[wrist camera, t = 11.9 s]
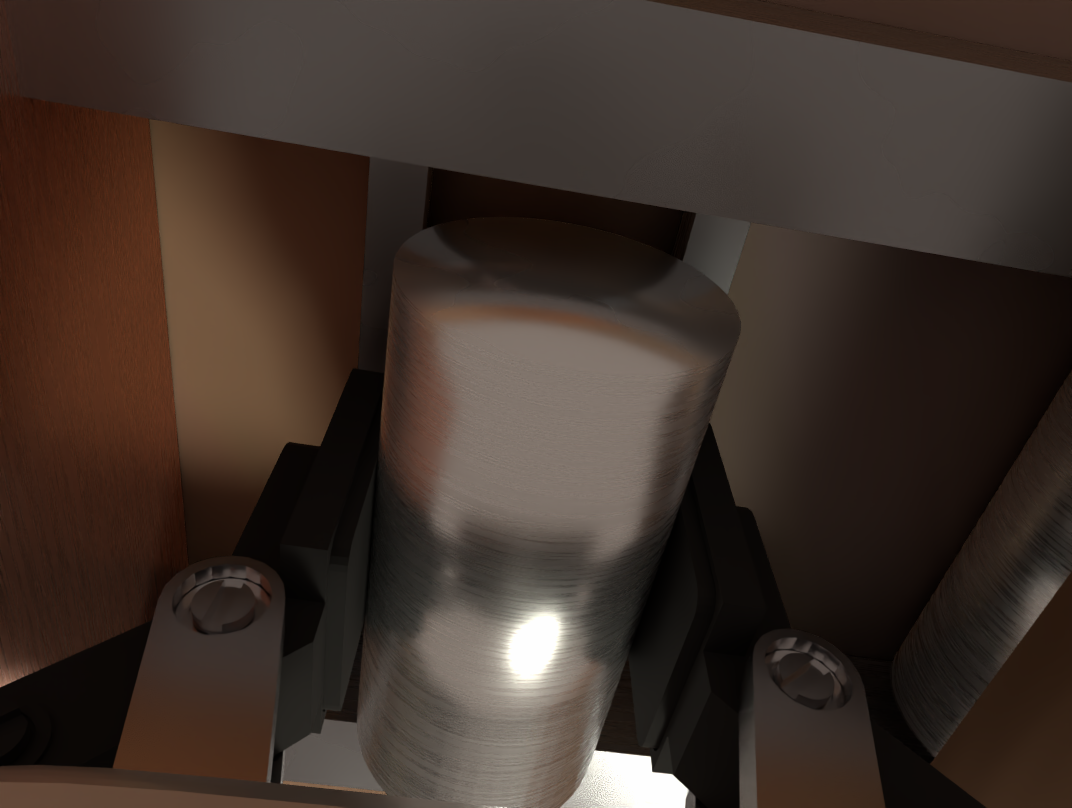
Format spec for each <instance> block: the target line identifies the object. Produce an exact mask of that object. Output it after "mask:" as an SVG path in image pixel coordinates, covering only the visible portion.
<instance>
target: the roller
mask: <svg viewBox="0 0 1072 808" xmlns="http://www.w3.org/2000/svg"><path fill="white" fill-rule="evenodd" d="M740 331H741V321H740V317H739V313H738V311H737V309H736V307H735V305H734V303H733V302H732V301H731V299H730V298H729V297H728V296H727V294H726V293H725V292H724V291H723V290H722V289H721V288H720V287H719V286H718V285H717V284H716V283H714V282H713V281H712V280H710V279H709V278H708V277H707V276H705V275H704V274H703V273H701V272H699V271H698V270H696V269H695V268H693V267H692V266H690V265H688V264H687V263H685V262H683V261H681V260H679V259H678V258H676V257H673V256H671V255H669V254H667V253H665V252H663V251H661V250H658V249H656V248H654V247H651V246H649V245H646V244H644V243H641V242H638V241H635V240H632V239H630V238H627V237H624V236H620V235H617V234H614V233H610V232H607V231H603V230H599V229H595V228H591V227H586V226H581V225H576V224H571V223H565V222H559V221H553V220H544V219H535V218H521V217H481V218H471V219H462V220H456V221H451V222H446V223H443V224H439V225H435V226H432V227H430V228H427V229H425V230H422V231H420V232H418V233H417V234H415V235H413V236H412V237H410V238H409V239H408V240H407V241H405V242H404V243H403V244H402V245H401V247H400V248H399V250H398V251H397V253H396V256H395V259H394V264H393V276H392V289H391V301H390V314H389V326H388V338H387V351H386V363H385V375H384V388H383V400H382V412H381V425H380V437H379V450H378V465H377V478H376V490H375V503H374V515H373V527H372V540H371V552H370V565H369V577H368V589H367V602H366V614H365V623H364V635H363V648H362V660H361V672H360V685H359V697H358V709H357V733H358V741H359V744H360V748H361V752H362V755H363V758H364V760H365V762H366V764H367V767H368V769H369V770H370V772H371V774H372V775H373V777H374V778H375V780H376V782H377V783H378V784H379V785H380V787H381V788H382V789H383V790H384V791H385V792H386V794H387V795H391V796H401V797H410V798H420V799H429V800H439V801H448V802H457V803H466V804H475V805H484V806H493V807H503V808H560V807H561V806H562V805H563V804H564V803H565V802H566V801H567V800H569V799H570V798H571V796H572V795H573V794H574V792H575V791H576V790H577V789H578V787H579V786H580V784H581V783H582V781H583V779H584V777H585V775H586V773H587V771H588V768H589V765H590V763H591V760H592V757H593V754H594V751H595V749H596V746H597V743H598V740H599V737H600V734H601V731H602V728H603V726H604V723H605V720H606V717H607V714H608V711H609V708H610V705H611V703H612V700H613V697H614V694H615V691H616V688H617V685H618V682H619V680H620V677H621V674H622V671H623V668H624V665H625V662H626V660H627V657H628V654H629V651H630V648H631V645H632V642H633V639H634V637H635V634H636V631H637V628H638V625H639V622H640V619H641V616H642V614H643V611H644V608H645V605H646V602H647V599H648V596H649V593H650V591H651V588H652V585H653V582H654V579H655V576H656V573H657V570H658V568H659V565H660V562H661V559H662V556H663V553H664V550H665V547H666V545H667V542H668V539H669V536H670V533H671V530H672V527H673V524H674V522H675V519H676V516H677V513H678V510H679V507H680V504H681V502H682V499H683V496H684V493H685V490H686V487H687V484H688V481H689V479H690V476H691V473H692V470H693V467H694V464H695V461H696V458H697V456H698V453H699V450H700V447H701V444H702V441H703V438H704V435H705V433H706V430H707V427H708V424H709V421H710V418H711V415H712V412H713V410H714V407H715V404H716V401H717V398H718V395H719V392H720V389H721V387H722V384H723V381H724V378H725V375H726V372H727V369H728V366H729V364H730V361H731V358H732V355H733V352H734V349H735V346H736V344H737V341H738V338H739V335H740Z"/></svg>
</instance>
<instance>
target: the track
mask: <svg viewBox="0 0 1072 808" xmlns="http://www.w3.org/2000/svg"><path fill="white" fill-rule="evenodd" d="M149 119H154V120H160V121H166V122H172V123H177V124H183V125H189V126H195V127H201V128H206V129H212V130H218V131H224V132H230V133H235V134H241V135H247V136H253V137H259V138H264V139H270V140H276V141H282V142H288V143H294V144H299V145H305V146H311V147H317V148H323V149H328V150H334V151H340V152H346V153H352V154H357V155H363V156H369V157H370V167H369V184H368V202H367V219H366V237H365V254H364V272H363V289H362V307H361V324H360V342H359V359H358V369H362V370H369V371H376V372H382V373H385V363H386V351H387V338H388V326H389V314H390V301H391V289H392V276H393V264H394V259H395V256H396V253H397V251H398V250H399V248H400V247H401V245H402V244H403V243H404V242H405V241H407V240H408V239H409V238H410V237H412V236H413V235H415V234H417V233H418V232H420V231H422V230H425V229H427V228H428V219H429V209H430V199H431V189H432V179H433V169H434V168H439V169H445V170H450V171H456V172H462V173H468V174H474V175H479V176H485V177H491V178H497V179H503V180H509V181H514V182H520V183H526V184H532V185H538V186H543V187H549V188H555V189H561V190H567V191H572V192H578V193H584V194H590V195H596V196H602V197H607V198H613V199H619V200H625V201H631V202H636V203H642V204H648V205H654V206H660V207H665V208H671V209H677V210H683V211H684V212H683V215H682V219H681V223H680V226H679V230H678V233H677V237H676V241H675V244H674V248H673V251H672V255H671V256H673V257H676V258H678V259H679V260H681V261H683V262H685V263H687V264H688V265H690V266H692V267H693V268H695V269H696V270H698V271H699V272H701V273H703V274H704V275H705V276H707V277H708V278H709V279H710V280H712V281H713V282H714V283H716V284H717V285H718V286H719V287H720V288H721V289H722V290H723V291H724V292H725V293H726V294H727V295H728V292H729V289H730V285H731V282H732V279H733V276H734V273H735V270H736V267H737V264H738V261H739V258H740V255H741V252H742V249H743V246H744V243H745V240H746V237H747V234H748V231H749V228H750V224H751V222H753V223H758V224H764V225H770V226H776V227H782V228H787V229H793V230H799V231H805V232H811V233H817V234H822V235H828V236H834V237H840V238H846V239H851V240H857V241H863V242H869V243H875V244H880V245H886V246H892V247H898V248H904V249H910V250H915V251H921V252H927V253H933V254H939V255H944V256H950V257H956V258H962V259H968V260H973V261H979V262H985V263H991V264H997V265H1002V266H1008V267H1014V268H1020V269H1026V270H1032V271H1037V272H1043V273H1049V274H1055V275H1061V276H1066V277H1072V61H1067V60H1062V59H1057V58H1052V57H1047V56H1042V55H1037V54H1031V53H1026V52H1021V51H1016V50H1011V49H1006V48H1001V47H996V46H991V45H985V44H980V43H975V42H970V41H965V40H960V39H955V38H950V37H944V36H939V35H934V34H929V33H924V32H919V31H914V30H909V29H903V28H898V27H893V26H888V25H883V24H878V23H873V22H868V21H863V20H857V19H852V18H847V17H842V16H837V15H832V14H827V13H822V12H816V11H811V10H806V9H801V8H796V7H791V6H786V5H781V4H775V3H770V2H765V1H760V0H0V687H2V686H4V685H6V684H9V683H11V682H13V681H15V680H18V679H20V678H22V677H24V676H27V675H29V674H31V673H33V672H36V671H38V670H40V669H42V668H45V667H47V666H49V665H51V664H54V663H56V662H58V661H60V660H63V659H65V658H67V657H70V656H72V655H74V654H76V653H79V652H81V651H83V650H85V649H88V648H90V647H92V646H94V645H97V644H99V643H101V642H103V641H106V640H108V639H110V638H112V637H115V636H117V635H119V634H121V633H124V632H126V631H128V630H130V629H133V628H135V627H137V626H139V625H142V624H144V623H146V622H148V621H151V620H153V617H154V613H155V610H156V606H157V602H158V599H159V597H160V595H161V593H162V591H163V589H164V587H165V585H166V584H167V583H168V582H169V581H170V580H171V579H172V578H173V577H174V576H175V575H176V574H177V573H178V572H180V571H182V570H183V569H185V568H187V567H188V566H189V562H188V551H187V540H186V528H185V517H184V506H183V495H182V484H181V473H180V461H179V450H178V439H177V428H176V417H175V406H174V395H173V383H172V372H171V361H170V350H169V339H168V328H167V316H166V305H165V294H164V283H163V272H162V261H161V249H160V238H159V227H158V216H157V205H156V194H155V182H154V171H153V160H152V149H151V138H150V127H149ZM1071 572H1072V370H1071V372H1070V373H1069V375H1068V376H1067V378H1066V380H1065V381H1064V383H1063V385H1062V386H1061V388H1060V389H1059V391H1058V393H1057V394H1056V396H1055V397H1054V399H1053V401H1052V402H1051V404H1050V406H1049V407H1048V409H1047V410H1046V412H1045V414H1044V415H1043V417H1042V419H1041V420H1040V422H1039V423H1038V425H1037V427H1036V428H1035V430H1034V431H1033V433H1032V435H1031V436H1030V438H1029V440H1028V441H1027V443H1026V444H1025V446H1024V448H1023V449H1022V451H1021V453H1020V454H1019V456H1018V457H1017V459H1016V461H1015V462H1014V464H1013V465H1012V467H1011V469H1010V470H1009V472H1008V474H1007V475H1006V477H1005V478H1004V480H1003V482H1002V483H1001V485H1000V487H999V488H998V490H997V491H996V493H995V495H994V496H993V498H992V499H991V501H990V503H989V504H988V506H987V508H986V509H985V511H984V512H983V514H982V516H981V517H980V519H979V520H978V522H977V524H976V525H975V527H974V529H973V530H972V532H971V533H970V535H969V537H968V538H967V540H966V542H965V543H964V545H963V546H962V548H961V550H960V551H959V553H958V554H957V556H956V558H955V559H954V561H953V563H952V564H951V566H950V567H949V569H948V571H947V572H946V574H945V576H944V577H943V579H942V580H941V582H940V584H939V585H938V587H937V588H936V590H935V592H934V593H933V595H932V597H931V598H930V600H929V601H928V603H927V605H926V606H925V608H924V610H923V611H922V613H921V614H920V616H919V618H918V619H917V621H916V622H915V624H914V626H913V627H912V629H911V631H910V632H909V634H908V635H907V637H906V639H905V640H904V642H903V644H902V645H901V647H900V648H899V650H898V652H897V653H896V655H895V656H894V659H893V662H892V661H884V660H876V659H868V658H860V657H853V656H846V657H847V658H848V659H849V660H850V661H851V662H852V664H853V665H854V667H855V668H856V670H857V671H858V673H859V674H860V677H861V680H862V683H863V685H864V688H865V694H866V700H867V705H868V711H869V717H870V719H872V720H873V721H874V722H875V723H877V724H878V725H879V726H881V727H882V728H883V729H885V730H886V731H887V732H888V733H890V734H891V735H892V736H894V737H895V738H896V739H898V740H899V741H900V742H902V743H903V744H904V745H905V746H907V747H908V748H909V749H911V750H912V751H913V752H915V753H916V754H917V755H919V756H920V757H921V758H922V759H924V760H925V761H926V762H928V763H929V764H931V762H932V761H933V760H934V758H935V757H936V756H937V754H938V753H939V751H940V750H941V749H942V747H943V746H944V745H945V743H946V742H947V741H948V739H949V738H950V736H951V735H952V734H953V732H954V731H955V730H956V728H957V727H958V726H959V724H960V723H961V721H962V720H963V719H964V717H965V716H966V715H967V713H968V712H969V711H970V709H971V708H972V706H973V705H974V704H975V702H976V701H977V700H978V698H979V697H980V696H981V694H982V693H983V691H984V690H985V689H986V687H987V686H988V685H989V683H990V682H991V681H992V679H993V678H994V676H995V675H996V674H997V672H998V671H999V670H1000V668H1001V667H1002V666H1003V664H1004V663H1005V661H1006V660H1007V659H1008V657H1009V656H1010V655H1011V653H1012V652H1013V651H1014V649H1015V648H1016V647H1017V645H1018V644H1019V642H1020V641H1021V640H1022V638H1023V637H1024V636H1025V634H1026V633H1027V632H1028V630H1029V629H1030V627H1031V626H1032V625H1033V623H1034V622H1035V621H1036V619H1037V618H1038V617H1039V615H1040V614H1041V612H1042V611H1043V610H1044V608H1045V607H1046V606H1047V604H1048V603H1049V602H1050V600H1051V599H1052V597H1053V596H1054V595H1055V593H1056V592H1057V591H1058V589H1059V588H1060V587H1061V585H1062V584H1063V582H1064V581H1065V580H1066V578H1067V577H1068V576H1069V574H1070V573H1071ZM364 623H365V620H364ZM363 635H364V624H363V627H362V631H361V635H360V639H359V643H358V647H357V651H356V655H355V659H354V663H353V667H352V671H351V675H350V679H349V683H348V687H347V691H346V694H345V698H344V702H343V706H342V709H341V711H333V710H327V712H326V715H325V719H324V723H323V726H322V730H321V734H316V733H311V734H310V735H308V736H306V737H305V738H303V739H302V740H300V741H298V742H297V743H295V744H293V745H292V746H290V747H288V748H287V749H285V762H284V774H283V780H285V781H294V782H303V783H313V784H322V785H331V786H340V787H349V788H358V789H368V790H377V791H384V790H383V789H382V788H381V787H380V785H379V784H378V783H377V782H376V780H375V778H374V777H373V775H372V774H371V772H370V770H369V769H368V767H367V764H366V762H365V760H364V758H363V755H362V752H361V748H360V744H359V741H358V733H357V709H358V697H359V685H360V672H361V660H362V648H363ZM687 791H688V789H687V788H686V787H685V786H684V785H683V784H682V783H681V782H680V781H679V780H678V779H676V778H675V777H674V776H673V775H672V774H663V773H655V772H652V765H651V757H650V748H647V747H640V746H639V744H638V741H637V734H636V724H635V714H634V705H633V695H632V685H631V675H630V666H629V656H628V657H627V660H626V662H625V665H624V668H623V671H622V674H621V677H620V680H619V682H618V685H617V688H616V691H615V694H614V697H613V700H612V703H611V705H610V708H609V711H608V714H607V717H606V720H605V723H604V726H603V728H602V731H601V734H600V737H599V740H598V743H597V746H596V749H595V751H594V754H593V757H592V760H591V763H590V765H589V768H588V771H587V773H586V775H585V777H584V779H583V781H582V783H581V784H580V786H579V787H578V789H577V790H576V791H575V792H574V794H573V795H572V796H571V798H570V799H569V800H567V801H566V802H565V803H564V804H563V805H562V806H561V807H560V808H685V799H686V795H687Z"/></svg>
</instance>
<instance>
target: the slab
mask: <svg viewBox="0 0 1072 808" xmlns="http://www.w3.org/2000/svg"><path fill="white" fill-rule="evenodd" d="M930 765H932V766H933V767H934V768H936V769H937V770H938V771H939V772H941V773H942V774H943V775H945V776H946V777H947V778H949V779H950V780H951V781H952V782H954V783H955V784H956V785H958V786H959V787H960V788H962V789H963V790H964V791H966V792H967V793H968V794H969V795H971V796H972V797H973V798H975V799H976V800H977V801H979V802H980V803H981V804H983V805H984V806H985V807H986V808H1072V572H1071V573H1070V574H1069V576H1068V577H1067V578H1066V580H1065V581H1064V582H1063V584H1062V585H1061V587H1060V588H1059V589H1058V591H1057V592H1056V593H1055V595H1054V596H1053V597H1052V599H1051V600H1050V602H1049V603H1048V604H1047V606H1046V607H1045V608H1044V610H1043V611H1042V612H1041V614H1040V615H1039V617H1038V618H1037V619H1036V621H1035V622H1034V623H1033V625H1032V626H1031V627H1030V629H1029V630H1028V632H1027V633H1026V634H1025V636H1024V637H1023V638H1022V640H1021V641H1020V642H1019V644H1018V645H1017V647H1016V648H1015V649H1014V651H1013V652H1012V653H1011V655H1010V656H1009V657H1008V659H1007V660H1006V661H1005V663H1004V664H1003V666H1002V667H1001V668H1000V670H999V671H998V672H997V674H996V675H995V676H994V678H993V679H992V681H991V682H990V683H989V685H988V686H987V687H986V689H985V690H984V691H983V693H982V694H981V696H980V697H979V698H978V700H977V701H976V702H975V704H974V705H973V706H972V708H971V709H970V711H969V712H968V713H967V715H966V716H965V717H964V719H963V720H962V721H961V723H960V724H959V726H958V727H957V728H956V730H955V731H954V732H953V734H952V735H951V736H950V738H949V739H948V741H947V742H946V743H945V745H944V746H943V747H942V749H941V750H940V751H939V753H938V754H937V756H936V757H935V758H934V760H933V761H932V762H931V764H930Z"/></svg>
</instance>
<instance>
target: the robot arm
mask: <svg viewBox="0 0 1072 808" xmlns="http://www.w3.org/2000/svg"><path fill="white" fill-rule="evenodd" d="M384 375H385V373H382V372H376V371H369V370H362V369H356V368H353V369H352V371H351V373H350V376H349V378H348V381H347V383H346V385H345V388H344V390H343V393H342V395H341V398H340V400H339V402H338V405H337V407H336V410H335V412H334V414H333V417H332V419H331V422H330V424H329V427H328V429H327V431H326V434H325V436H324V439H323V441H322V444H321V446H313V445H306V444H299V443H292V442H289V443H287V444H286V445H285V447H284V448H283V450H282V452H281V454H280V456H279V458H278V460H277V462H276V465H275V467H274V469H273V471H272V473H271V475H270V477H269V479H268V481H267V483H266V485H265V488H264V490H263V492H262V494H261V496H260V498H259V500H258V502H257V504H256V506H255V508H254V511H253V513H252V515H251V517H250V519H249V521H248V523H247V525H246V527H245V529H244V531H243V534H242V536H241V538H240V540H239V542H238V544H237V546H236V548H235V550H234V552H233V554H232V556H222V557H212V558H209V559H206V560H203V561H200V562H197V563H193V564H192V565H190V566H188V567H187V568H185V569H183V570H182V571H180V572H178V573H177V574H176V575H175V576H174V577H173V578H172V579H171V580H170V581H169V582H168V583H167V584H166V585H165V587H164V589H163V591H162V593H161V595H160V597H159V599H158V602H157V606H156V610H155V613H154V617H153V620H151V621H148V622H146V623H144V624H142V625H139V626H137V627H135V628H133V629H130V630H128V631H126V632H124V633H121V634H119V635H117V636H115V637H112V638H110V639H108V640H106V641H103V642H101V643H99V644H97V645H94V646H92V647H90V648H88V649H85V650H83V651H81V652H79V653H76V654H74V655H72V656H70V657H67V658H65V659H63V660H60V661H58V662H56V663H54V664H51V665H49V666H47V667H45V668H42V669H40V670H38V671H36V672H33V673H31V674H29V675H27V676H24V677H22V678H20V679H18V680H15V681H13V682H11V683H9V684H6V685H4V686H2V687H0V808H503V807H493V806H484V805H475V804H466V803H457V802H448V801H439V800H429V799H420V798H410V797H401V796H391V795H382V794H372V793H363V792H353V791H344V790H334V789H324V788H315V787H305V786H296V785H286V784H283V774H284V762H285V749H287V748H288V747H290V746H292V745H293V744H295V743H297V742H298V741H300V740H302V739H303V738H305V737H306V736H308V735H310V734H311V733H316V734H321V730H322V726H323V723H324V719H325V715H326V712H327V710H333V711H341V709H342V706H343V702H344V698H345V694H346V691H347V687H348V683H349V679H350V675H351V671H352V667H353V663H354V659H355V655H356V651H357V647H358V643H359V639H360V635H361V631H362V627H363V624H364V620H365V614H366V602H367V589H368V577H369V565H370V552H371V540H372V527H373V515H374V503H375V490H376V478H377V465H378V450H379V437H380V425H381V412H382V400H383V388H384ZM628 656H629V666H630V675H631V685H632V695H633V705H634V714H635V724H636V734H637V741H638V744H639V746H640V747H647V748H650V757H651V765H652V772H655V773H663V774H672V775H673V776H674V777H675V778H676V779H678V780H679V781H680V782H681V783H682V784H683V785H684V786H685V787H686V788H687V789H688V791H687V795H686V799H685V808H986V807H985V806H984V805H983V804H981V803H980V802H979V801H977V800H976V799H975V798H973V797H972V796H971V795H969V794H968V793H967V792H966V791H964V790H963V789H962V788H960V787H959V786H958V785H956V784H955V783H954V782H952V781H951V780H950V779H949V778H947V777H946V776H945V775H943V774H942V773H941V772H939V771H938V770H937V769H936V768H934V767H933V766H932V765H930V764H929V763H928V762H926V761H925V760H924V759H922V758H921V757H920V756H919V755H917V754H916V753H915V752H913V751H912V750H911V749H909V748H908V747H907V746H905V745H904V744H903V743H902V742H900V741H899V740H898V739H896V738H895V737H894V736H892V735H891V734H890V733H888V732H887V731H886V730H885V729H883V728H882V727H881V726H879V725H878V724H877V723H875V722H874V721H873V720H872V719H870V717H869V711H868V705H867V700H866V694H865V688H864V685H863V683H862V680H861V677H860V674H859V673H858V671H857V670H856V668H855V667H854V665H853V664H852V662H851V661H850V660H849V659H848V658H847V657H846V656H845V655H844V654H843V653H842V652H841V651H840V650H839V649H838V648H836V647H835V646H833V645H832V644H830V643H829V642H827V641H825V640H824V639H822V638H821V637H818V636H816V635H813V634H810V633H808V632H805V631H801V630H795V629H791V627H790V624H789V621H788V618H787V615H786V612H785V609H784V606H783V603H782V600H781V597H780V594H779V591H778V588H777V584H776V581H775V578H774V575H773V572H772V569H771V566H770V563H769V560H768V557H767V554H766V551H765V548H764V545H763V542H762V539H761V536H760V533H759V530H758V526H757V523H756V520H755V517H754V515H753V513H752V511H751V510H749V509H748V508H745V507H738V506H736V505H735V502H734V499H733V495H732V492H731V489H730V486H729V482H728V479H727V476H726V472H725V469H724V466H723V462H722V459H721V456H720V453H719V449H718V446H717V443H716V439H715V436H714V433H713V429H712V426H711V424H710V423H709V424H708V427H707V430H706V433H705V435H704V438H703V441H702V444H701V447H700V450H699V453H698V456H697V458H696V461H695V464H694V467H693V470H692V473H691V476H690V479H689V481H688V484H687V487H686V490H685V493H684V496H683V499H682V502H681V504H680V507H679V510H678V513H677V516H676V519H675V522H674V524H673V527H672V530H671V533H670V536H669V539H668V542H667V545H666V547H665V550H664V553H663V556H662V559H661V562H660V565H659V568H658V570H657V573H656V576H655V579H654V582H653V585H652V588H651V591H650V593H649V596H648V599H647V602H646V605H645V608H644V611H643V614H642V616H641V619H640V622H639V625H638V628H637V631H636V634H635V637H634V639H633V642H632V645H631V648H630V651H629V654H628Z"/></svg>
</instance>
